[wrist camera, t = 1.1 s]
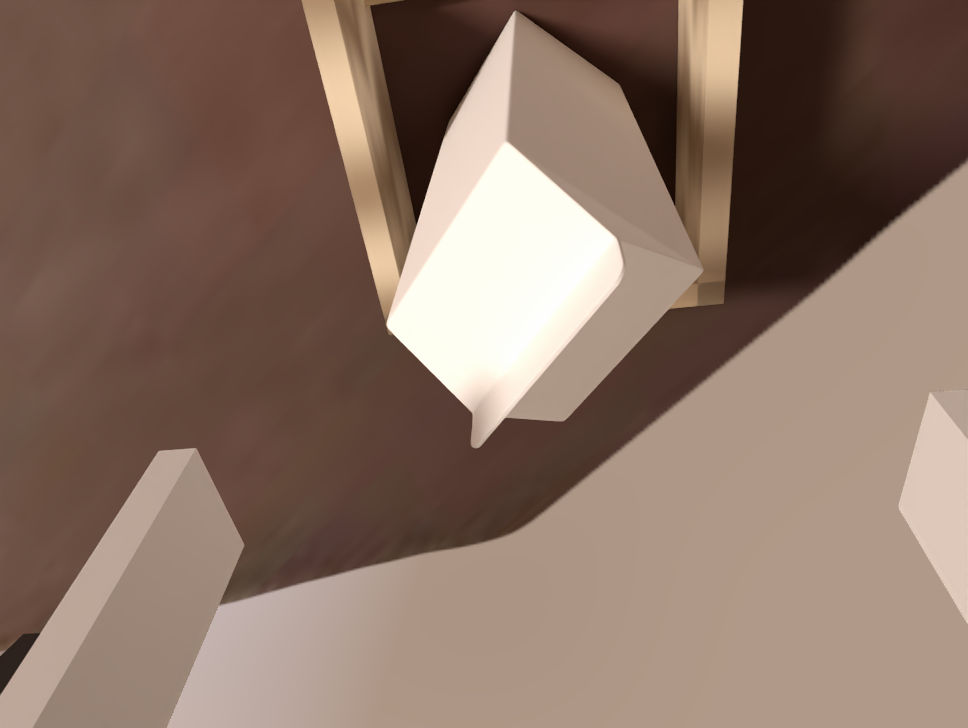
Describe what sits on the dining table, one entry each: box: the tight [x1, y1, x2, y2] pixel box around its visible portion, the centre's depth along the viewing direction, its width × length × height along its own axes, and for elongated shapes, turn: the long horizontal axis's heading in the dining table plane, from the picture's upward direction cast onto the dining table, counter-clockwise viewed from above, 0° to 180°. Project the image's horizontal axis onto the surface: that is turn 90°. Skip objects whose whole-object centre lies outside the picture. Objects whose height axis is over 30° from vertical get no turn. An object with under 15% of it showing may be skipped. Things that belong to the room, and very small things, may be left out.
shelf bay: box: [302, 0, 743, 335], centre depth 31 cm, size 15×16×6 cm
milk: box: [387, 11, 703, 448], centre depth 24 cm, size 6×6×22 cm
